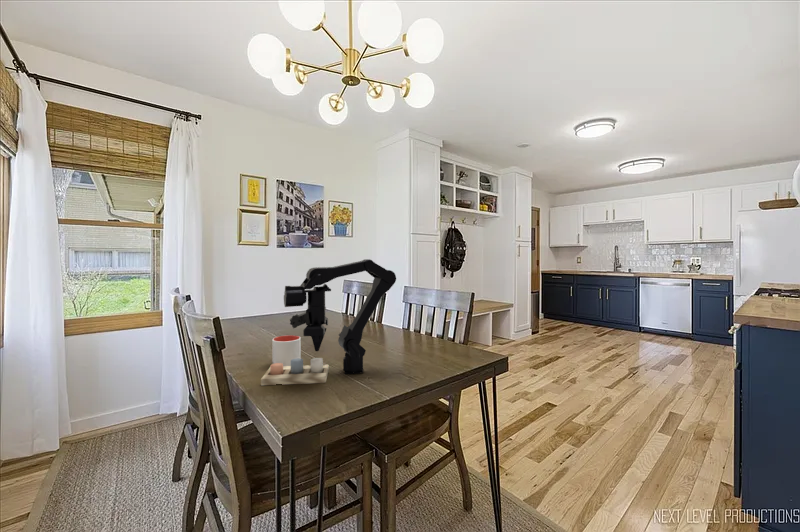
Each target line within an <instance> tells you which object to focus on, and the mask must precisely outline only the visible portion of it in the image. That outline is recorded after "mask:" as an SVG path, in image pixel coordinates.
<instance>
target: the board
mask: <svg viewBox="0 0 800 532" xmlns="http://www.w3.org/2000/svg"><path fill="white" fill-rule="evenodd" d="M329 371H330V366H329V364H323V371H322V372H321V373H311V364H310V365H308V364H307V365H303V372H302V373H300V374H292V373H291V366H283V375H270V367H269V368H268V369H267V370H266V372H265V373H264V375H263V376H262V377H261V378H260V386H277V385H276V384H282V385H301V384H302V385H304V384H305V385H306V384H324V383H325V384H326V383H327V378H328V376H329V375H328V374H329Z"/></svg>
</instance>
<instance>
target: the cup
mask: <svg viewBox="0 0 800 532" xmlns="http://www.w3.org/2000/svg"><path fill="white" fill-rule="evenodd" d="M301 340H302V339H301V336H299V335H280V336H276V337H275V336H274V337H273V338H272V340H271V342H272V345H271V346H272V348H271V349H272V355H271V356H272V358H271V359H272V364H274V363H282V364H283V366H291V360H292V359H297V358H300V359H302V357H301V354H302V351H301V350H302V349H301V346H302V345H301V343H302V342H301Z"/></svg>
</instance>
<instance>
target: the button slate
mask: <svg viewBox="0 0 800 532" xmlns="http://www.w3.org/2000/svg"><path fill="white" fill-rule="evenodd" d="M303 366H304V359H303V358H301V359H300V358H297V359H292V360H291V373H292V374H300V373H302V372H303Z"/></svg>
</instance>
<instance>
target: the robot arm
mask: <svg viewBox="0 0 800 532" xmlns="http://www.w3.org/2000/svg"><path fill="white" fill-rule="evenodd" d="M363 272H367V273H368V274H369V275H370V276H371V277H373V280H372V286H371V290H370V292H369V293H368V294H367V297H366V298H365V300H364V302H363V303H362V306H361V307H360V309H359V310H358V313H357V314H356V315H355V318H354V319H353V321H352V322H351V324H349V325H348V326H347V325H343V327H342V329H341V331H340V332H339V334H338V336H339V337H338V340H337V341H338V345H339V347H341V348H342V349H343V351H344V352H345V353H344V357H343V358H342V360H343V361H342V362H343V363H342V365H343V366H342V367H343V369H342V370H343V371H344V375H351V374H352V375H354V374H357V375H358V374H364V356H365V354H366V351H367V350H366V349H365V348H364V347H363V346H362V345H361V343H362V338H363V333H364V329H365V327H366V326H367V324H368V322H369V320H370V319H371V318H372V317H371V316H372V315H373V313H374V311H375V310H376V309H377V306H378V304H379V302H380V301H381V299H382V297H383V296H384V295H385V294H386V293H387V292H389V291H390V289H391V288H392V287H393V286H394V284H395V283H396V281H397V276H396V273H395V272H394V271H393V270H390V269H386V268H385V267H383V266H381V265H380V264H377V263H376V262H375V261H373V260H372V259H370V258H369V259H363V260H360V261H353V262H349V263H344V264H340V265H336V266H326V267H325V266H322V267H320V266H319V267H311V268H309V269H308V270H307V272H306V275H305V279H304V280H303V282H302V283H301V284H300V285H285V286H284V292H283V293H284V295H283V305H284V308H293V307H294V308H295V307H303V306H304V305H305V304H306V303H307V308H306V310H305V312H303V313H300V314H298V313H297V314H295V315H292V316H291V318H290V319H289V322H290V323H289V324H290V325H291V326H292V329H295V328H298V327H299V326H302V325H304V324H305V327H304V328H303V330H302V331H303V334H302V335H303V337H311V340H312V345H313V347H314V352H319V351H320V348H321V345H322V342H323V340H324V337H325V334H326V332H327V328H326V327H325V326H329V319H328V317H327V316H326V310H327V307H326V292H332V289H331V288H330V287H329V286H328V285H327V284H326V283H329V282H332V281H333V280H335V279H337V278H341V277H344V276H349V275H353V274H359V273H363ZM324 325H325V326H324Z"/></svg>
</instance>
